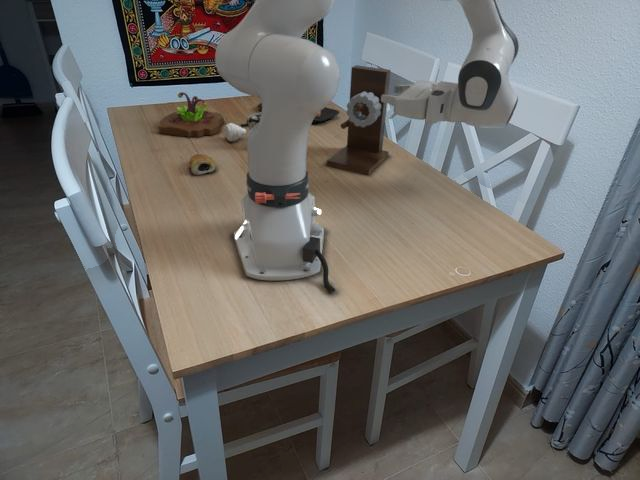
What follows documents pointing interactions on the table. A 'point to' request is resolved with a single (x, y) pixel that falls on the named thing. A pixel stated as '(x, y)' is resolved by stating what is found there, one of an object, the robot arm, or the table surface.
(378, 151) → the stand
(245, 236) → the robot arm
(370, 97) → the grey knurled ring
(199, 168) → the pastry
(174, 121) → the plant
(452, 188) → the table surface
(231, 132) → the white cream swirl
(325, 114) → the sushi plate
